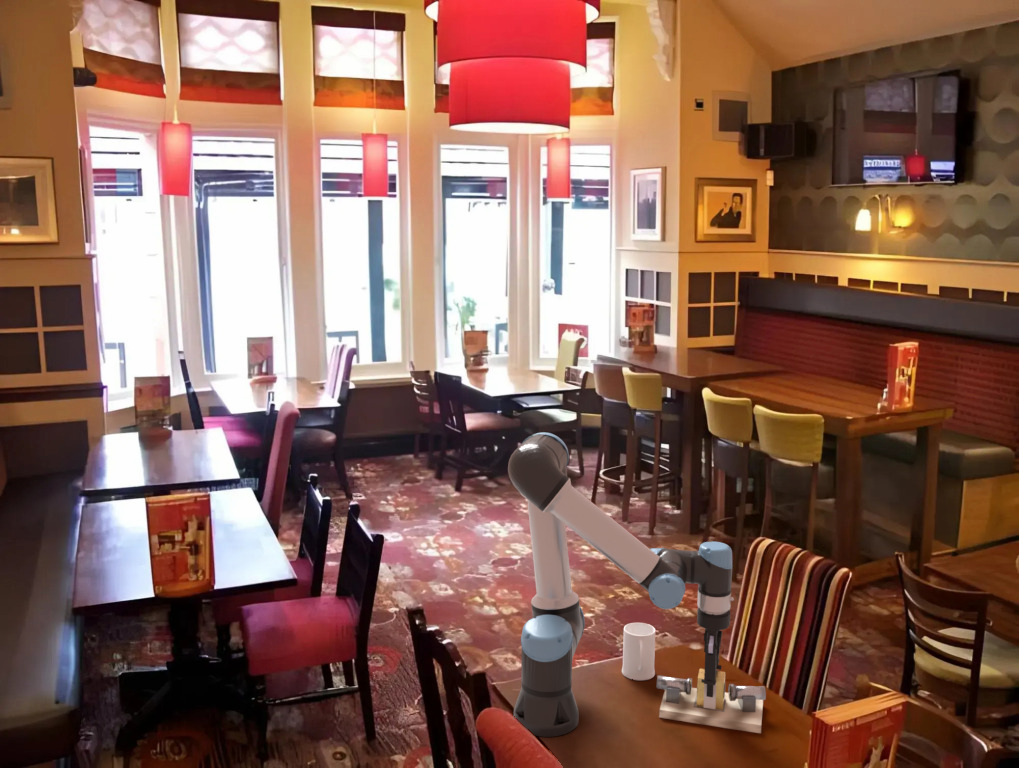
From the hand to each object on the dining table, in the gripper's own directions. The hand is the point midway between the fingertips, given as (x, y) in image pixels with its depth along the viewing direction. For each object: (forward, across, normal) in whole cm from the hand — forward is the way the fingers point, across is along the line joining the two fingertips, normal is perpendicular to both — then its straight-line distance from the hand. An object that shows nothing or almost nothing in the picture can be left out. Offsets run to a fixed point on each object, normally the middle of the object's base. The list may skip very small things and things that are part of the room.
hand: (710, 701), depth 218 cm
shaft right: (0, +1, -8) cm, 8 cm away
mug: (+3, +12, +19) cm, 23 cm away
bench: (+2, 0, 0) cm, 2 cm away
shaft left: (0, 0, +9) cm, 9 cm away
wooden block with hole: (0, 0, 0) cm, 0 cm away
